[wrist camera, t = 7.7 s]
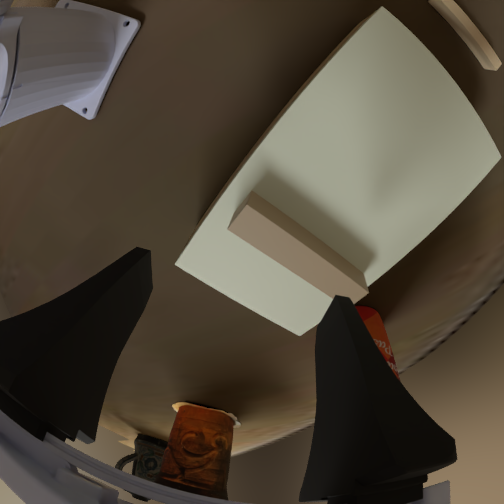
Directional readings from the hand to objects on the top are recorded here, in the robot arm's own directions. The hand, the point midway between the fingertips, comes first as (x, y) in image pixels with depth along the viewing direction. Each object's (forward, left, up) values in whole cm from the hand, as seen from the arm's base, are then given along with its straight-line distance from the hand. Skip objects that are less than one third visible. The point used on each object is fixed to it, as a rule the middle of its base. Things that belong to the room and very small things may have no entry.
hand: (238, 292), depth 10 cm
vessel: (+18, -41, -10) cm, 46 cm away
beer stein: (+23, -93, -10) cm, 96 cm away
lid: (+3, +4, -6) cm, 7 cm away
